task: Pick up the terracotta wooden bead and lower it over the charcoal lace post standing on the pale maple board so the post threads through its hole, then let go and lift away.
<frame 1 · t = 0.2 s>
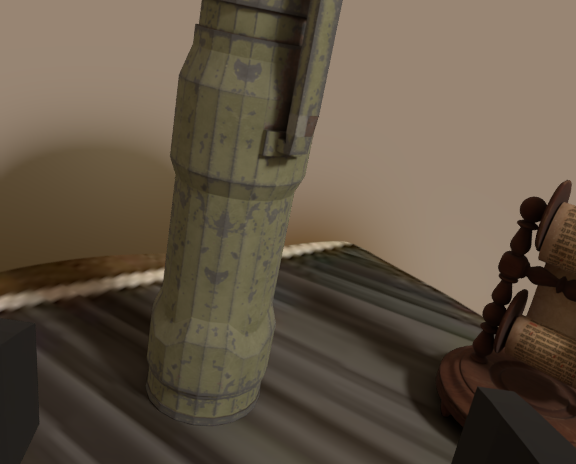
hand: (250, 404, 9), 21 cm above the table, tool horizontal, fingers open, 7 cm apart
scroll: (519, 424, 46), on the table
grey-green tall column: (202, 387, 42), on the table
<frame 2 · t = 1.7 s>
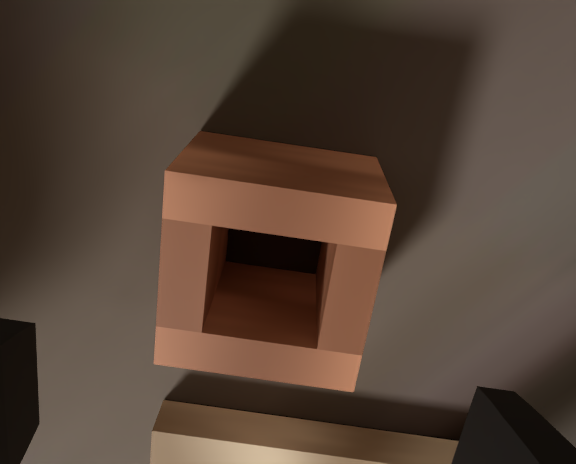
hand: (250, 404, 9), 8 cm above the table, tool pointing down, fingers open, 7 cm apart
bead: (276, 225, 16), on the table
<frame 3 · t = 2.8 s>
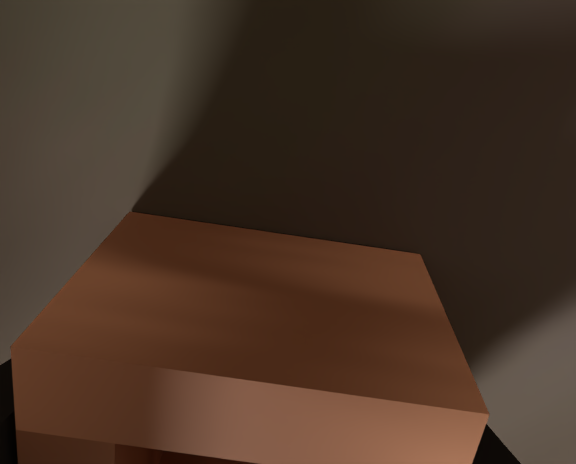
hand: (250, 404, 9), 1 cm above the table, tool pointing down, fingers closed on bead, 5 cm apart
bead: (258, 354, 10), on the table, touching gripper
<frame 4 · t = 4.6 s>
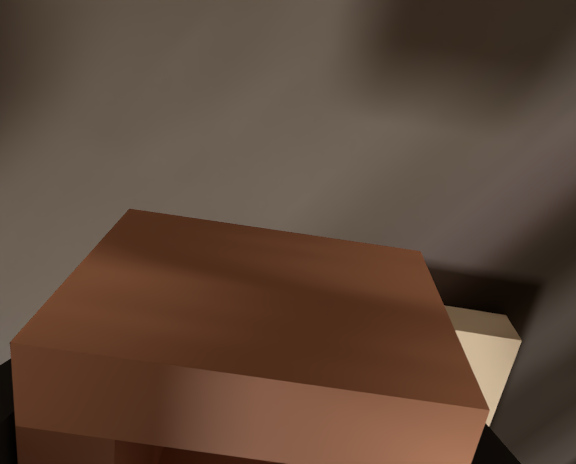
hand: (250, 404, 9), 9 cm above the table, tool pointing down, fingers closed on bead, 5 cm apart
bead: (258, 352, 10), point 7 cm above the table, touching gripper
lacing board: (297, 428, 20), on the table
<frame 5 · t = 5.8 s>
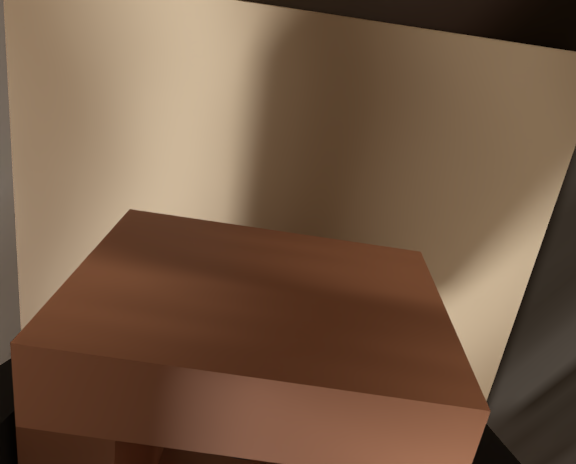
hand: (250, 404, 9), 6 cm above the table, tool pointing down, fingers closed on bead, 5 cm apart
bead: (258, 352, 10), point 4 cm above the table, touching gripper
lacing board: (272, 253, 15), on the table
when the fingers open (4 cm above the table, at t = 6.7 s): bead drops 1 cm, resting on lacing board.
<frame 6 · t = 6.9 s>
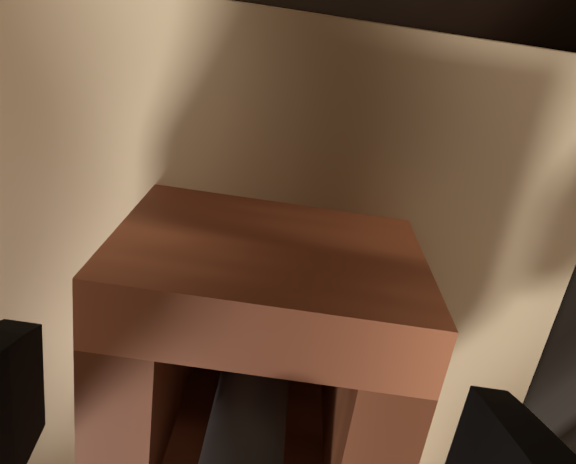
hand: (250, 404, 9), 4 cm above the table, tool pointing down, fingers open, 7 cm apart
bead: (266, 312, 12), point 1 cm above the table, touching lacing board
lacing board: (269, 280, 13), on the table
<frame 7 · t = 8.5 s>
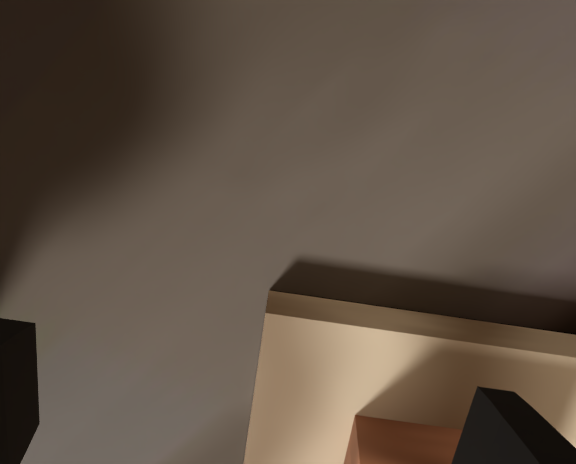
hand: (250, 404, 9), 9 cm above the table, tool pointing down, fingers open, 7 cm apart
lacing board: (403, 448, 21), on the table
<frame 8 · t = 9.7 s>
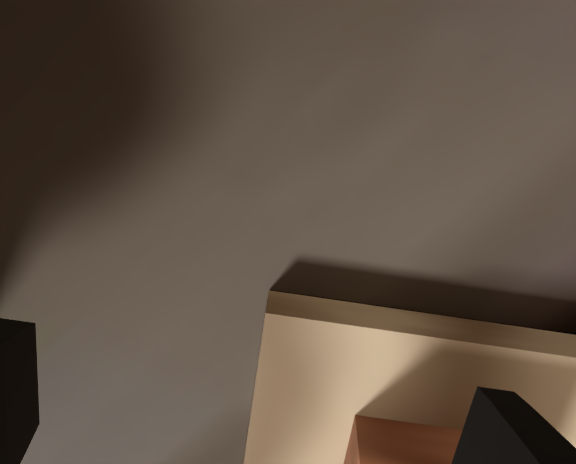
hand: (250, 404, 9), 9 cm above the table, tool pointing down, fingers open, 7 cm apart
lacing board: (403, 448, 21), on the table
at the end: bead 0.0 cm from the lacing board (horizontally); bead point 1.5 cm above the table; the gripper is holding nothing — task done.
